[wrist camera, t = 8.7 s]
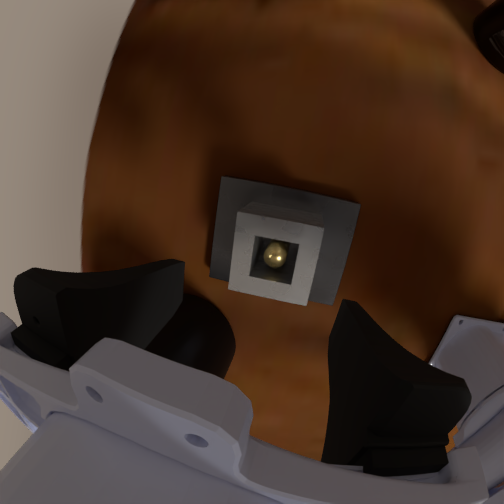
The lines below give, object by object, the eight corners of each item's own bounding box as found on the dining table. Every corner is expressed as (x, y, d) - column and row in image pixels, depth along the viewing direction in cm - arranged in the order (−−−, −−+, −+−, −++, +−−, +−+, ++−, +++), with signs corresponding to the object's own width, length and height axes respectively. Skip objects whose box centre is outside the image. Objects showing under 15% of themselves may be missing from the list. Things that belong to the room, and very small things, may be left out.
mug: (135, 262, 25) (70, 306, 16) (251, 319, 24) (220, 393, 15) (125, 332, 28) (77, 380, 20) (220, 382, 27) (190, 447, 19)
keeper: (358, 202, 19) (369, 212, 15) (331, 299, 22) (334, 326, 18) (225, 175, 20) (206, 179, 17) (213, 272, 23) (194, 293, 19)
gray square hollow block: (322, 214, 19) (324, 227, 15) (308, 279, 21) (306, 305, 17) (251, 201, 20) (237, 211, 16) (243, 266, 21) (228, 289, 18)
